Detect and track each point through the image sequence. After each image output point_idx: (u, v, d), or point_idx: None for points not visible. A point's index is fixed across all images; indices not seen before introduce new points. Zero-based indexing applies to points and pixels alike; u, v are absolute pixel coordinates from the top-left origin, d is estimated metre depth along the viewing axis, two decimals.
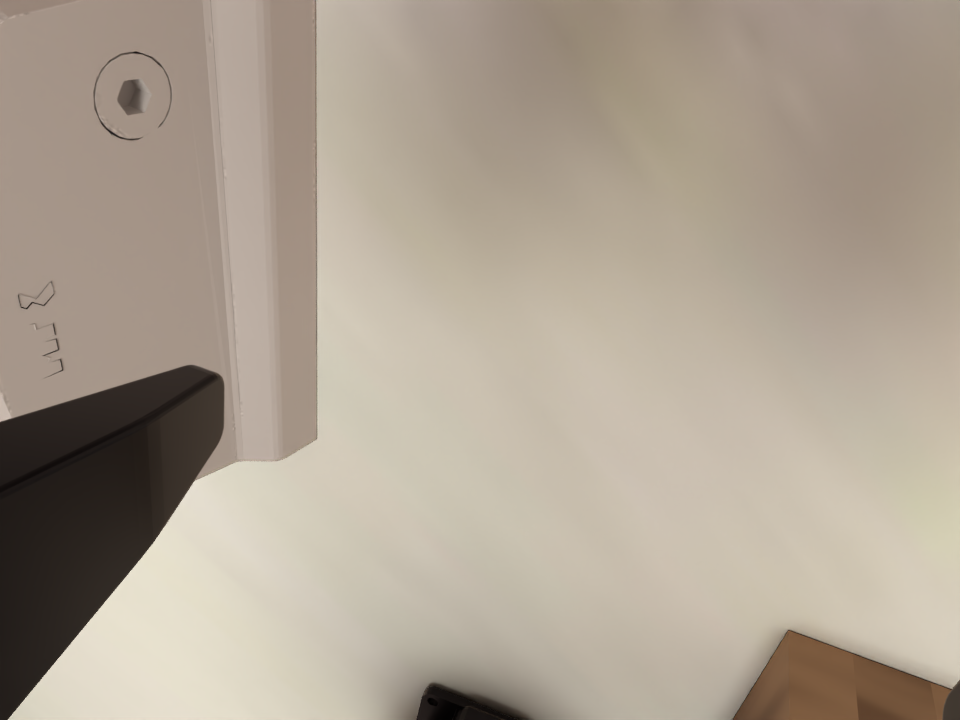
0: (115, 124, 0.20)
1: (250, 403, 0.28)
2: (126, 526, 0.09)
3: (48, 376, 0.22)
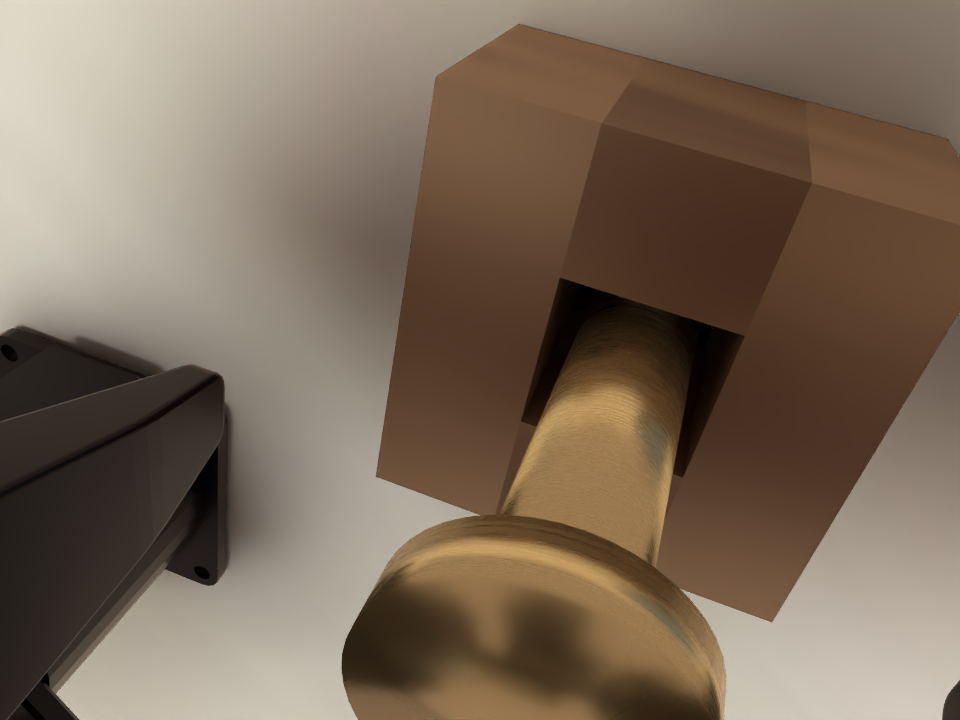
0: None
1: None
2: (126, 526, 0.09)
3: None
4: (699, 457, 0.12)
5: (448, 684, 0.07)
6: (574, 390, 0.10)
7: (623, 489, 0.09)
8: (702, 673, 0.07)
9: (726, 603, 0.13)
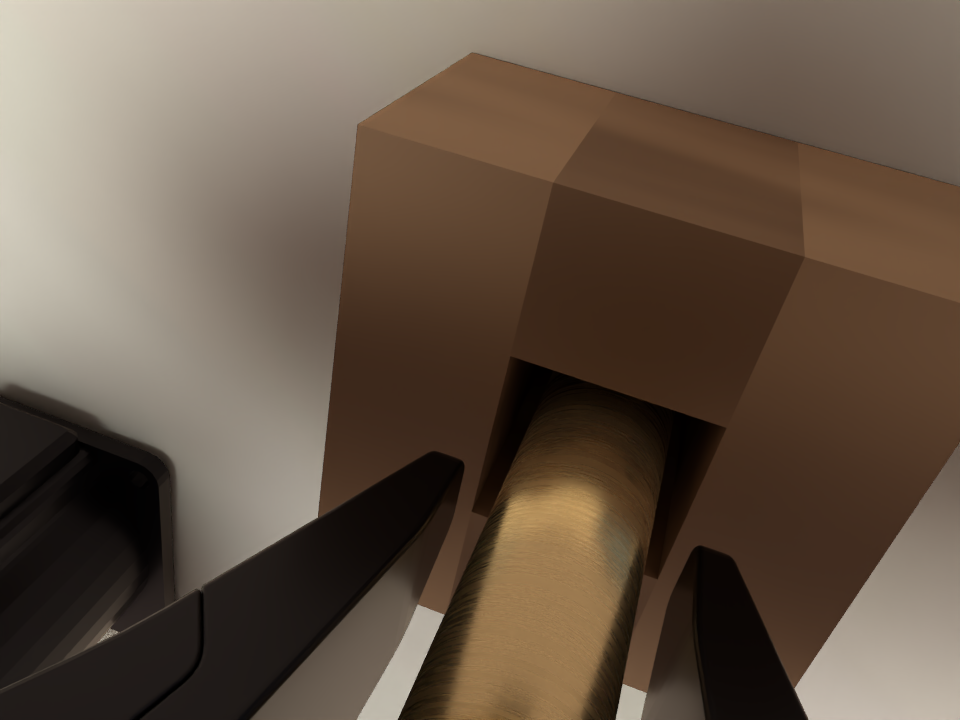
0: None
1: None
2: (391, 631, 0.08)
3: None
4: (676, 558, 0.10)
5: None
6: (521, 498, 0.09)
7: (571, 648, 0.07)
8: None
9: None
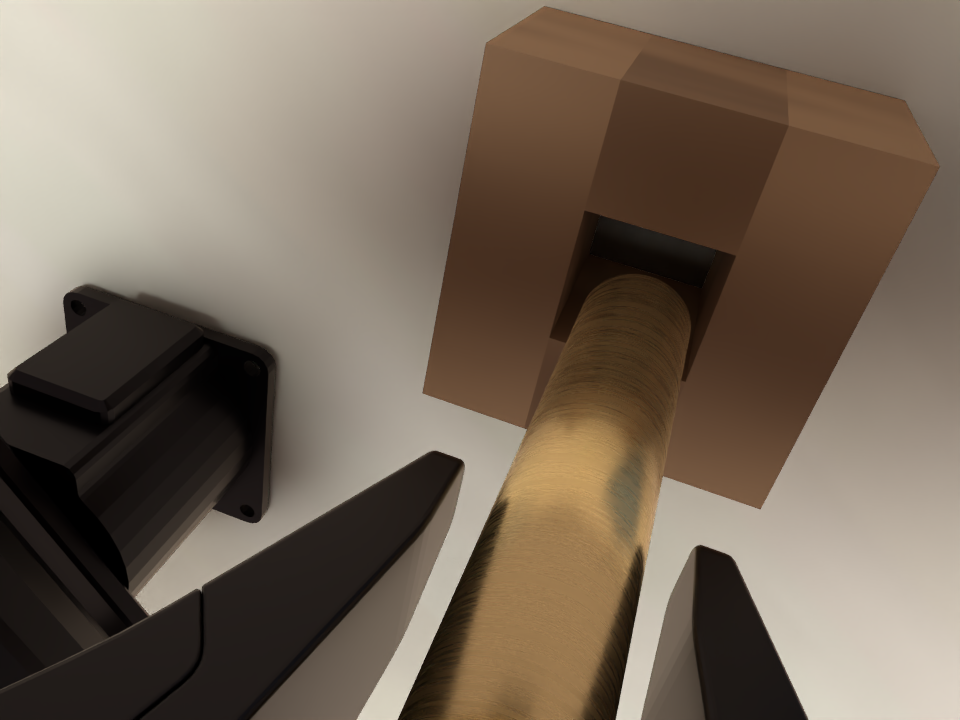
0: None
1: None
2: (391, 631, 0.08)
3: None
4: (699, 362, 0.15)
5: None
6: (521, 497, 0.09)
7: (572, 645, 0.07)
8: None
9: (722, 493, 0.16)
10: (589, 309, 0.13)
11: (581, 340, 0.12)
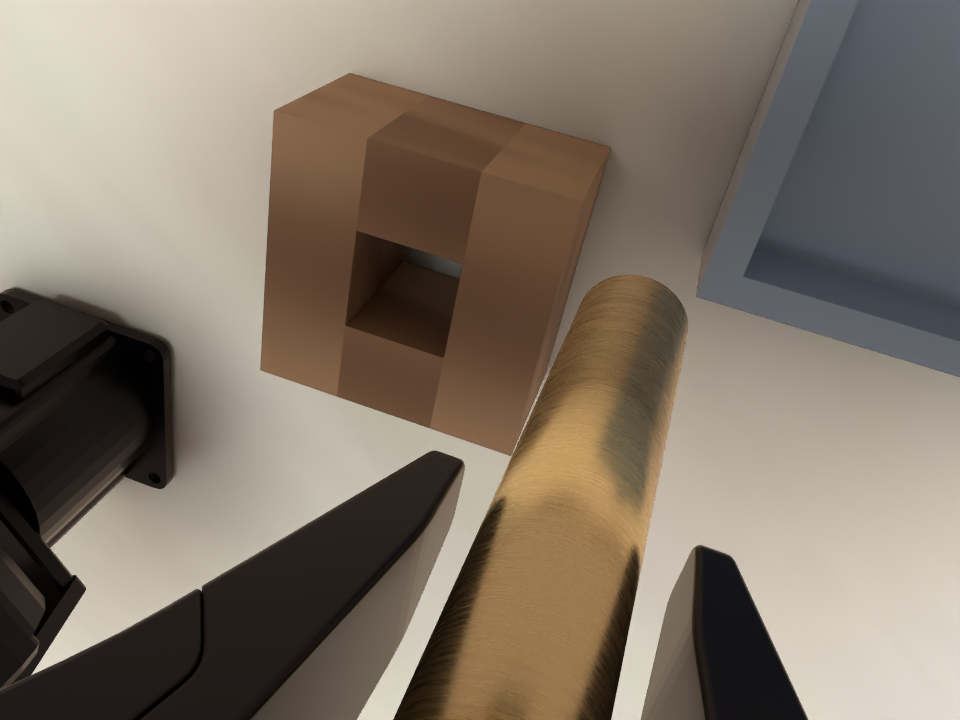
0: None
1: None
2: (391, 631, 0.08)
3: None
4: (451, 343, 0.20)
5: None
6: (518, 499, 0.09)
7: (566, 647, 0.07)
8: None
9: (482, 444, 0.21)
10: (586, 310, 0.13)
11: (577, 340, 0.12)
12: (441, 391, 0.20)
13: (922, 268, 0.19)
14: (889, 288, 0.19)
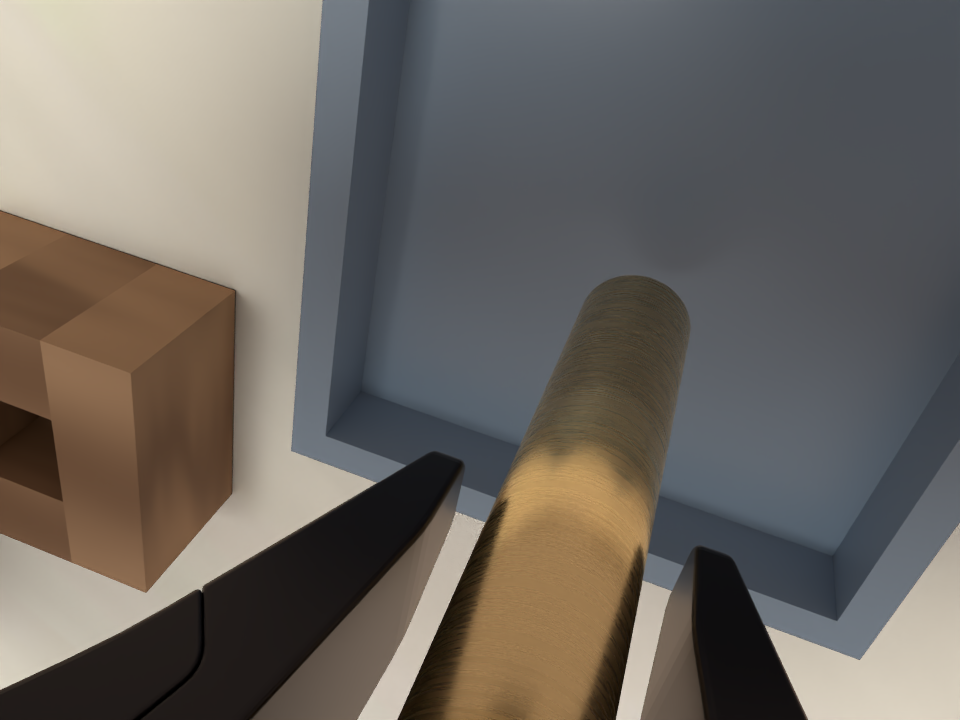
0: None
1: None
2: (392, 631, 0.08)
3: None
4: (64, 489, 0.20)
5: None
6: (520, 501, 0.09)
7: (569, 651, 0.07)
8: None
9: (119, 580, 0.21)
10: (588, 310, 0.12)
11: (580, 341, 0.12)
12: (70, 531, 0.21)
13: (519, 423, 0.19)
14: (494, 440, 0.19)
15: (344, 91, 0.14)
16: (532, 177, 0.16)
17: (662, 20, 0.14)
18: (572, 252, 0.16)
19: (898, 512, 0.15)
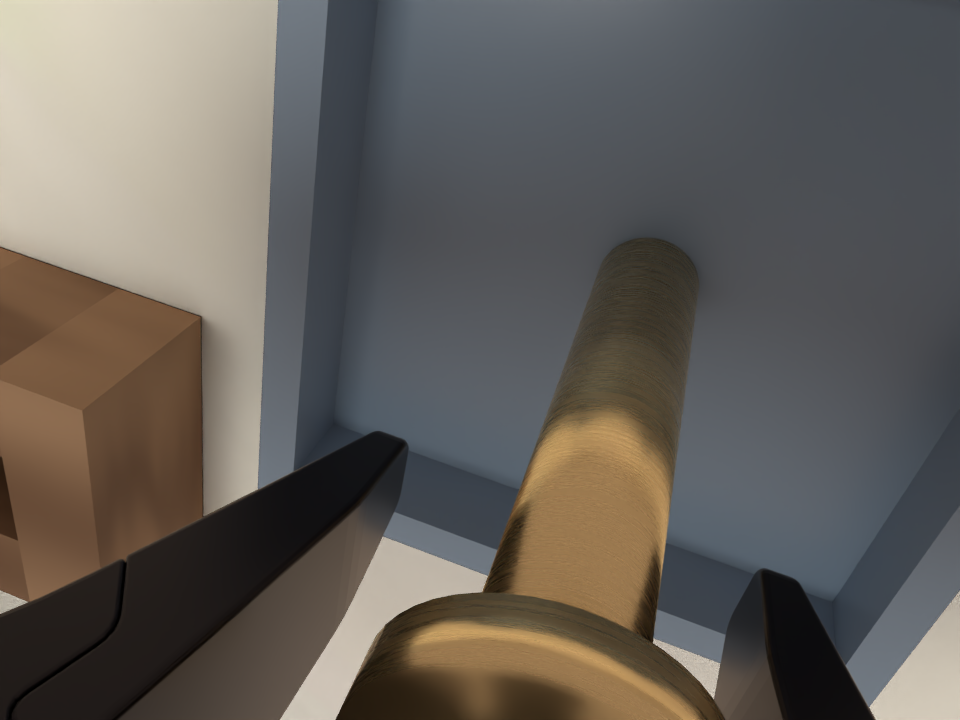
0: None
1: None
2: (329, 606, 0.08)
3: None
4: (19, 528, 0.19)
5: None
6: (566, 429, 0.10)
7: (621, 544, 0.08)
8: None
9: None
10: (608, 270, 0.14)
11: (603, 296, 0.13)
12: (27, 570, 0.20)
13: (500, 459, 0.18)
14: (474, 476, 0.18)
15: (302, 112, 0.13)
16: (510, 202, 0.15)
17: (647, 36, 0.13)
18: (553, 282, 0.15)
19: (903, 563, 0.14)
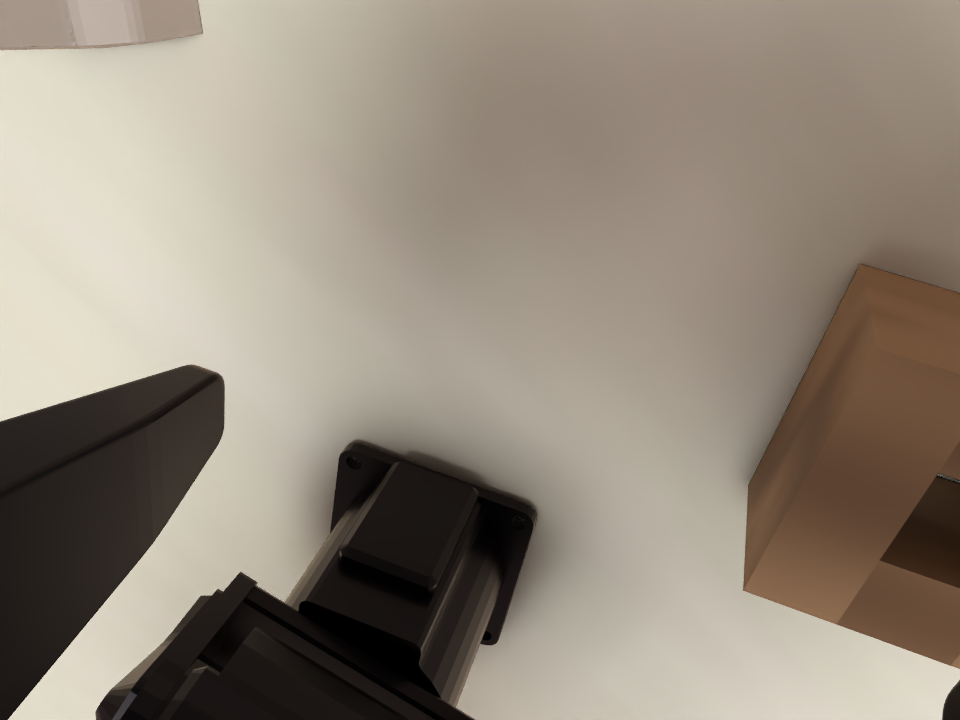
0: None
1: None
2: (126, 526, 0.09)
3: None
4: None
5: None
6: None
7: None
8: None
9: None
10: None
11: None
12: None
13: None
14: None
15: None
16: None
17: None
18: None
19: None
